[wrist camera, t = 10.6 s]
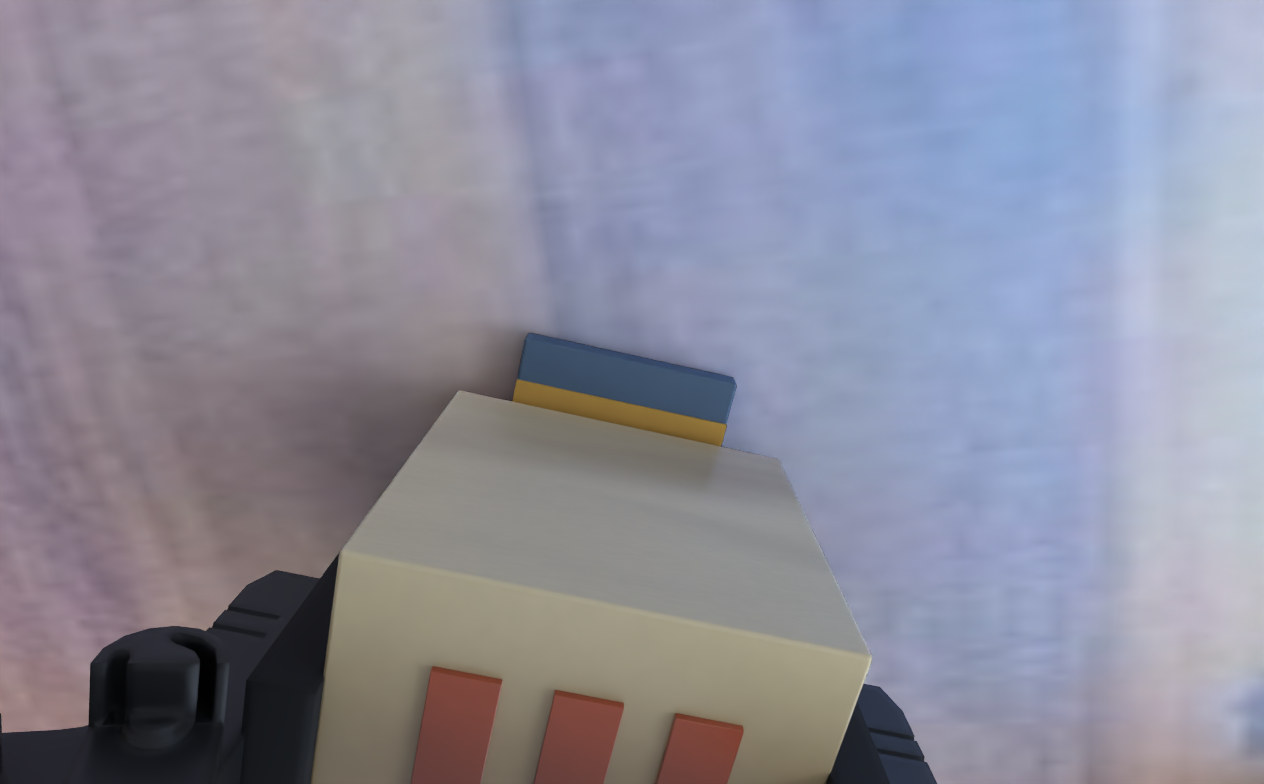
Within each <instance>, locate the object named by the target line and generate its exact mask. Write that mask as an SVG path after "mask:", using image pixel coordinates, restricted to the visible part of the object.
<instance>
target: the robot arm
mask: <svg viewBox="0 0 1264 784" xmlns="http://www.w3.org/2000/svg"><path fill="white" fill-rule="evenodd" d="M407 460H408V459H407ZM407 460H406V461H407ZM404 464H405V463H404ZM401 468H402V467H401ZM398 472H399V471H398ZM396 475H397V474H396ZM396 475H395V476H396ZM393 479H394V478H393ZM390 483H391V482H390ZM387 487H388V486H387ZM385 490H386V489H385ZM382 494H383V493H382ZM379 498H380V497H379ZM374 505H375V504H374ZM371 509H372V508H371ZM368 513H369V512H368ZM363 520H364V519H363ZM360 524H361V523H360ZM339 553H340V552H339ZM338 560H339V554H338V555H337V556H336V558H335V559H334V560H333V562H332V563H331V565H330V566H329V567H328V569H327V570H326V571H325V573H324V574H323V576H322V577H321V578H320V579H319V578H314V577H309V576H304V575H299V574H294V573H289V572H284V571H279V570H275V571H273V572H271V573H270V574H268V575H266V576H264V577H262V578H260V579H258V580H256V581H254V582H252V583H250V584H248V585H247V586H246V587H245V588H244V589H243V590H242V591H241V592H240V594H239V595H238V596H237V597H236V598H235V599H234V600H233V601H232V603H231V604H230V605H229V607H228V610H224V612H223V613H222V614H221V615H220V616H219V617H218V618H217V619H216V621H215V622H214V623H213V626H212V628H210V627H209V629H208V630H207V631H203V630H201V629H196V628H188V627H180V626H170V627H159V628H149V629H146V630H143V631H139V632H136V633H133V634H129V635H126V636H124V637H122V638H120V639H118V640H117V641H115V642H113V643H112V644H110V645H108V646H106V647H105V648H103V649H102V651H101V652H100V653H99V654H98V655H97V656H96V658H95V659H94V660H93V661H92V662H91V665H90V698H89V725H88V726H84V727H78V728H70V729H62V730H48V731H30V732H12V733H2V725H1V713H0V784H310V781H311V774H312V767H313V759H314V752H315V744H316V737H317V729H318V722H319V714H320V707H321V699H322V692H323V684H324V676H323V673H324V665H325V658H326V650H327V643H328V635H329V628H330V620H331V613H332V605H333V598H334V590H335V583H336V575H337V568H338ZM826 784H937V783H936V780H935V778H934V776H933V774H932V772H931V770H930V768H929V766H928V764H927V762H924V755H923V753H922V751H921V749H920V747H919V745H918V743H917V741H914V734H913V732H912V730H911V728H910V726H909V724H908V722H907V720H906V718H905V715H904V713H903V711H902V710H901V709H900V708H899V707H898V706H897V705H896V704H895V703H894V702H893V701H892V699H891V698H890V697H889V696H888V695H887V694H886V693H885V692H884V691H883V690H882V689H881V688H880V687H878V686H872V685H867V684H863V686H862V689H861V692H860V695H859V697H858V700H857V703H856V705H855V708H854V711H853V714H852V716H851V719H850V722H849V724H848V727H847V730H846V732H845V735H844V738H843V741H842V743H841V746H840V749H839V751H838V754H837V757H836V760H835V762H834V765H833V768H832V770H831V773H830V774H829V777H828V779H827V782H826Z"/></svg>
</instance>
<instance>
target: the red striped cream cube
mask: <svg viewBox="0 0 1264 784" xmlns="http://www.w3.org/2000/svg"><path fill="white" fill-rule="evenodd" d="M871 662H872V655H871V653H870V651H869V649H868V646H867V644H866V642H865V640H864V638H863V636H862V634H861V632H860V630H859V627H858V625H857V623H856V621H855V619H854V617H853V615H852V613H851V610H850V608H849V606H848V604H847V602H846V600H845V598H844V596H843V594H842V591H841V589H840V587H839V585H838V583H837V581H836V579H835V577H834V574H833V572H832V570H831V568H830V566H829V564H828V562H827V560H826V558H825V555H824V553H823V551H822V549H821V547H820V545H819V543H818V541H817V538H816V536H815V534H814V532H813V530H812V528H811V526H810V524H809V521H808V519H807V517H806V515H805V513H804V511H803V509H802V507H801V505H800V502H799V500H798V498H797V496H796V494H795V492H794V490H793V488H792V485H791V483H790V481H789V479H788V477H787V475H786V473H785V471H784V469H783V466H782V464H781V462H780V460H779V459H776V458H772V457H767V456H763V455H758V454H753V453H749V452H744V451H739V450H735V449H730V448H725V447H721V446H716V445H711V444H707V443H702V442H698V441H693V440H688V439H684V438H679V437H674V436H670V435H665V434H660V433H656V432H651V431H646V430H642V429H637V428H633V427H628V426H623V425H619V424H614V423H609V422H605V421H600V420H595V419H591V418H586V417H581V416H577V415H572V414H568V413H563V412H558V411H554V410H549V409H544V408H540V407H535V406H530V405H526V404H521V403H516V402H512V401H507V400H502V399H498V398H493V397H489V396H484V395H479V394H475V393H470V392H465V391H461V390H460V391H457V393H456V394H455V396H454V397H453V398H452V400H451V401H450V402H449V404H448V405H447V406H446V408H445V409H444V411H443V412H442V413H441V415H440V416H439V417H438V419H437V420H436V421H435V423H434V424H433V426H432V427H431V428H430V430H429V431H428V432H427V434H426V435H425V436H424V438H423V439H422V441H421V442H420V443H419V445H418V446H417V447H416V449H415V450H414V451H413V453H412V454H411V455H410V457H409V458H408V460H407V461H406V462H405V464H404V465H403V466H402V468H401V469H400V470H399V472H398V473H397V475H396V476H395V477H394V479H393V480H392V481H391V483H390V484H389V485H388V487H387V488H386V490H385V491H384V492H383V494H382V495H381V496H380V498H379V499H378V500H377V502H376V503H375V505H374V506H373V507H372V509H371V510H370V511H369V513H368V514H367V515H366V517H365V518H364V520H363V521H362V522H361V524H360V525H359V526H358V528H357V529H356V530H355V532H354V533H353V534H352V536H351V537H350V539H349V540H348V541H347V543H346V544H345V545H344V547H343V548H342V549H341V551H340V553H339V560H338V568H337V575H336V583H335V590H334V598H333V605H332V613H331V620H330V628H329V635H328V643H327V650H326V658H325V665H324V673H323V676H324V684H323V692H322V699H321V707H320V714H319V722H318V729H317V737H316V744H315V752H314V759H313V767H312V774H311V781H310V784H826V782H827V779H828V777H829V774H830V773H831V770H832V768H833V765H834V762H835V760H836V757H837V754H838V751H839V749H840V746H841V743H842V741H843V738H844V735H845V732H846V730H847V727H848V724H849V722H850V719H851V716H852V714H853V711H854V708H855V705H856V703H857V700H858V697H859V695H860V692H861V689H862V686H863V684H864V681H865V678H866V676H867V673H868V670H869V667H870V665H871Z"/></svg>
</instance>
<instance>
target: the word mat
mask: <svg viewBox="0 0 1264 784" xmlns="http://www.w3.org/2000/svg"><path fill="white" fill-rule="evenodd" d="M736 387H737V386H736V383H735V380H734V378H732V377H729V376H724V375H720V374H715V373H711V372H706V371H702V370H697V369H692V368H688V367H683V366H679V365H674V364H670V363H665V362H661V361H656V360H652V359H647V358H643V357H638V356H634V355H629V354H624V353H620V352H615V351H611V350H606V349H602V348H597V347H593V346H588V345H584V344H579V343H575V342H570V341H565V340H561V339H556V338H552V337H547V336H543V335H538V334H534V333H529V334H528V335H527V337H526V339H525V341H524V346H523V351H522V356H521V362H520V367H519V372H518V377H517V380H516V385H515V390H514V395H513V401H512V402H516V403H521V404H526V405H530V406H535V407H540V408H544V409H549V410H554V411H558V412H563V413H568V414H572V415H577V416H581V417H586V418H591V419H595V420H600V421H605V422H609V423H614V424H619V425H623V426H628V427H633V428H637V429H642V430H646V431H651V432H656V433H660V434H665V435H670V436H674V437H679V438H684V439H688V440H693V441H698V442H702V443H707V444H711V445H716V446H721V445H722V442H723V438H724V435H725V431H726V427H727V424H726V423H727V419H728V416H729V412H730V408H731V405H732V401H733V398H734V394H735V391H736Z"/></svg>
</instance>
